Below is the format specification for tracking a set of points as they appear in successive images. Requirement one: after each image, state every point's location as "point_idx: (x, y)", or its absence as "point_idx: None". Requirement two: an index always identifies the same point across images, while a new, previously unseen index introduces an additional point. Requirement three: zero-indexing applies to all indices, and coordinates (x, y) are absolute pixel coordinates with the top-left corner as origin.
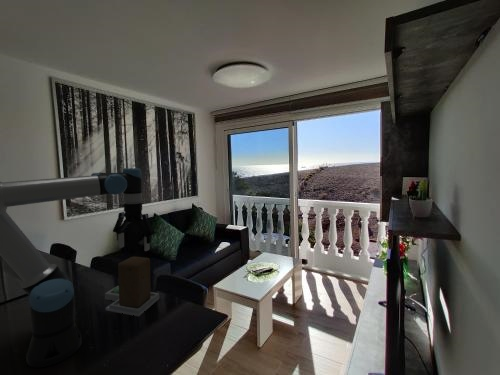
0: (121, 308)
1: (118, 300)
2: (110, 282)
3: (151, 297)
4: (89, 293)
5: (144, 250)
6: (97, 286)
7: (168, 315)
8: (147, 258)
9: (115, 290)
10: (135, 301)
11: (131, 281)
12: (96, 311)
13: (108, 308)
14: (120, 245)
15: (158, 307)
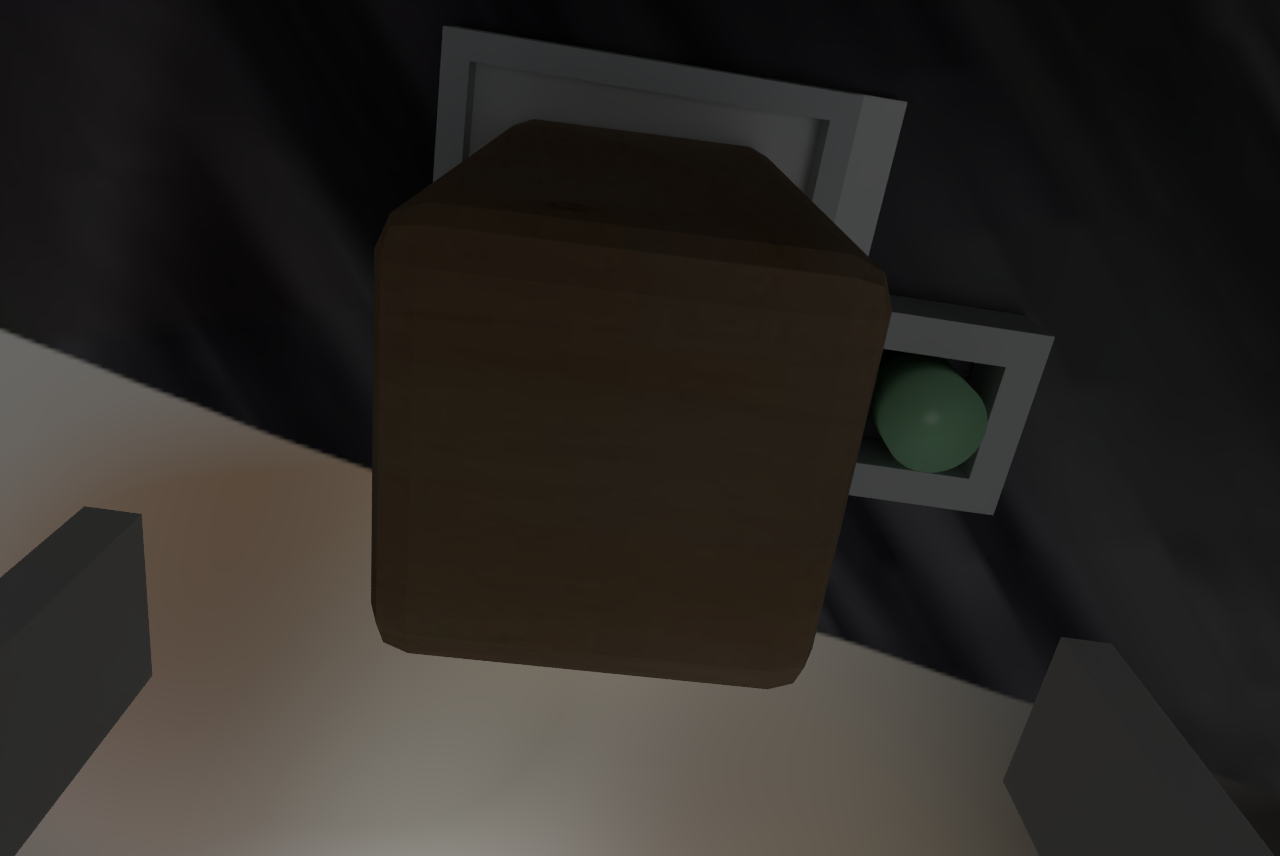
0: (687, 66)
1: None
2: (1143, 643)
3: None
4: (1267, 411)
5: (128, 523)
6: (1248, 554)
7: (143, 89)
8: (398, 617)
9: (943, 378)
10: (530, 125)
11: (560, 166)
12: (994, 68)
13: (867, 95)
14: (1091, 718)
15: (343, 229)
